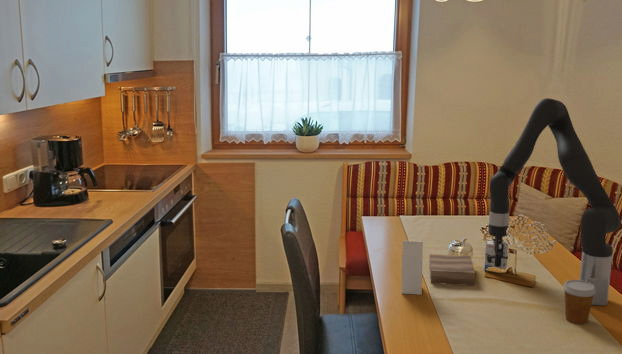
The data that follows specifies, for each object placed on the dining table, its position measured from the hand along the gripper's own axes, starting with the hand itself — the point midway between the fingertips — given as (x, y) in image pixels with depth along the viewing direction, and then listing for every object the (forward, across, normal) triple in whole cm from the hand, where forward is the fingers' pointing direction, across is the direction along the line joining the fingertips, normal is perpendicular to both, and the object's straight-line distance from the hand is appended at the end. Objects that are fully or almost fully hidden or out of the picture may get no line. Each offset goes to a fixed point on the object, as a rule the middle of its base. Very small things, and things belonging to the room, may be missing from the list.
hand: (496, 263), depth 225 cm
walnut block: (+3, -7, +18) cm, 20 cm away
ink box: (+3, 0, 0) cm, 3 cm away
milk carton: (+3, -24, +33) cm, 41 cm away
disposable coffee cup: (+3, -40, -20) cm, 45 cm away
